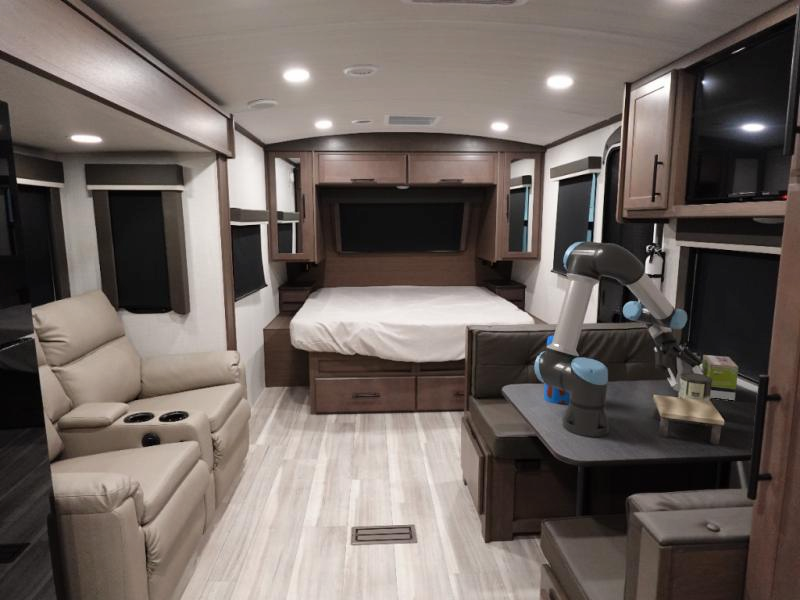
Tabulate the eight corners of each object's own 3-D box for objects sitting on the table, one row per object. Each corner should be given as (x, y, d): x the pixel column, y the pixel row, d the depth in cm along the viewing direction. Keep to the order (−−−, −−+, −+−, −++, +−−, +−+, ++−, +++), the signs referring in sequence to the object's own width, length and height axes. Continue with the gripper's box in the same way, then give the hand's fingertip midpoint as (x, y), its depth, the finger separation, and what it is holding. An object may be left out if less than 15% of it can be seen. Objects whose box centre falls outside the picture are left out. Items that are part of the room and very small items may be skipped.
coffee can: (698, 407, 192) (702, 372, 189) (714, 418, 181) (718, 381, 179) (671, 407, 192) (674, 372, 189) (685, 417, 182) (689, 380, 179)
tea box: (698, 386, 216) (702, 353, 213) (725, 389, 212) (730, 356, 210) (706, 398, 202) (710, 363, 199) (735, 401, 198) (739, 366, 196)
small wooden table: (658, 436, 165) (661, 412, 164) (651, 416, 182) (653, 394, 181) (721, 445, 159) (724, 420, 158) (707, 424, 176) (710, 401, 175)
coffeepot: (688, 396, 203) (693, 354, 200) (665, 390, 211) (669, 348, 208) (706, 389, 212) (711, 348, 209) (683, 383, 220) (687, 343, 217)
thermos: (575, 404, 193) (580, 342, 189) (547, 404, 193) (551, 341, 189) (566, 394, 204) (571, 335, 200) (540, 394, 204) (544, 334, 200)
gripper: (681, 338, 207) (708, 385, 195) (631, 342, 200) (656, 390, 188) (693, 329, 201) (722, 376, 189) (642, 332, 194) (668, 381, 182)
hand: (689, 383), depth 189 cm, fingers open, 13 cm apart
